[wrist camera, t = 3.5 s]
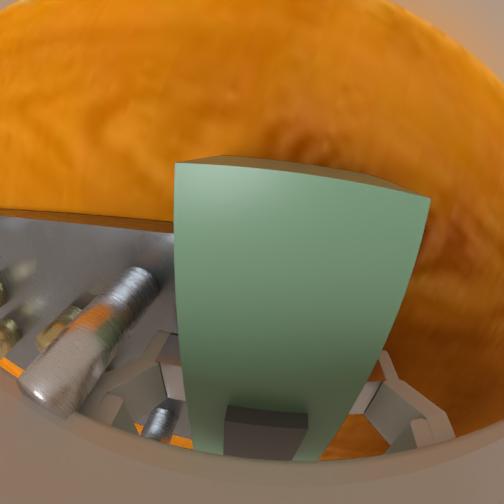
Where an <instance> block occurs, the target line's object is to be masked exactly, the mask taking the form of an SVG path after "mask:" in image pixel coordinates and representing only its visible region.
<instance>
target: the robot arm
mask: <svg viewBox="0 0 504 504" xmlns="http://www.w3.org/2000/svg"><path fill="white" fill-rule="evenodd" d="M17 379H18V378H16V377H15V376H13V375H12V374H10V373H9V372H8V371H6V370H5V369H3V368H2V367H0V504H504V419H502V420H500V421H498V422H495V423H493V424H491V425H488V426H486V427H483V428H481V429H478V430H476V431H473V432H470V433H468V434H465V435H462V436H459V437H456V436H455V434H454V431H453V429H452V426H451V424H450V421H449V419H448V417H447V414H446V412H445V411H443V410H442V409H441V408H439V407H438V406H437V405H435V404H434V403H433V402H431V401H430V400H429V399H427V398H426V397H425V396H423V395H422V394H421V393H419V392H418V391H417V390H415V389H414V388H413V387H411V386H410V385H409V384H407V383H406V382H405V381H403V380H399V378H398V375H397V373H396V371H395V368H394V366H393V363H392V361H391V359H390V356H389V354H388V352H387V351H386V350H382V351H381V353H380V355H379V358H378V360H377V362H376V364H375V366H374V368H373V370H372V372H371V374H370V376H369V378H368V380H367V382H366V384H365V385H364V387H363V389H362V391H361V393H360V395H359V396H358V398H357V400H356V402H355V403H354V405H353V407H352V409H351V410H350V412H349V414H364V416H365V417H366V418H367V419H368V420H369V421H370V423H371V424H372V425H373V426H374V427H375V428H376V430H377V431H378V432H379V433H380V434H381V435H382V436H383V438H384V439H385V440H386V441H387V442H388V443H389V444H390V445H391V446H390V447H389V448H388V449H387V450H386V451H385V452H384V453H383V455H379V456H371V457H363V458H354V459H342V460H325V461H282V460H264V459H252V458H242V457H234V456H227V455H220V454H214V453H208V452H203V451H197V450H192V449H188V448H183V447H179V446H175V445H171V444H167V443H163V442H159V441H156V440H152V439H149V438H146V437H142V436H140V435H139V433H138V431H137V429H136V427H135V425H134V423H135V422H137V421H138V420H139V419H141V418H142V417H143V416H145V415H146V414H147V413H149V412H150V411H151V410H153V409H154V408H155V407H157V406H158V405H159V404H161V403H162V402H163V401H164V400H166V399H167V397H168V398H173V399H178V400H183V401H186V398H185V391H184V383H183V375H182V366H181V357H180V347H179V336H178V334H177V333H170V332H166V331H161V330H159V331H157V332H156V333H155V335H154V336H153V338H152V340H151V341H150V343H149V345H148V346H147V348H146V350H145V351H144V353H143V355H142V356H141V358H135V359H133V360H131V361H129V362H127V363H125V364H123V365H121V366H119V367H117V368H115V369H113V370H110V371H108V372H106V373H104V374H102V375H101V377H100V378H99V380H98V381H97V383H96V384H95V386H94V387H93V389H92V390H91V392H90V393H89V395H88V396H87V398H86V399H85V401H84V402H83V404H82V406H81V407H80V409H79V410H78V412H77V411H74V412H73V413H71V414H70V415H69V416H68V418H67V419H66V420H64V419H62V418H60V417H58V416H57V415H55V414H53V413H51V412H50V411H48V410H46V409H45V408H43V407H41V406H40V405H38V404H36V403H35V402H33V401H32V400H30V399H29V398H27V397H26V396H24V395H23V394H22V393H21V392H20V390H19V388H18V386H17V383H16V380H17Z"/></svg>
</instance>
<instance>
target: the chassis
mask: <svg viewBox="0 0 504 504" xmlns="http://www.w3.org/2000/svg"><path fill="white" fill-rule="evenodd" d="M159 330H161V331H166V332H170V333H177V334H178V323H177V309H176V292H175V269H174V222H164V221H154V220H144V219H133V218H121V217H110V216H98V215H86V214H73V213H59V212H44V211H29V210H12V209H0V360H1V359H2V358H3V357H6V358H7V359H8V360H10V361H11V362H13V363H14V364H16V365H17V366H19V367H20V368H22V369H23V370H25V371H24V372H23V373H22V374H21V376H20V377H19V378H18V379H17V380H16V383H17V386H18V388H19V390H20V392H21V393H22V394H23V395H24V396H26V397H27V398H29V399H30V400H32V401H33V402H35V403H36V404H38V405H40V406H41V407H43V408H45V409H46V410H48V411H50V412H51V413H53V414H55V415H57V416H58V417H60V418H62V419H64V420H66V419H67V418H68V416H69V415H70V414H71V413H73V412H74V411H77V412H78V410H79V409H80V407H81V406H82V404H83V402H84V401H85V399H86V398H87V396H88V395H89V393H90V392H91V390H92V389H93V387H94V386H95V384H96V383H97V381H98V380H99V378H100V377H101V375H102V374H104V373H106V372H108V371H110V370H113V369H115V368H117V367H119V366H121V365H123V364H125V363H127V362H129V361H131V360H133V359H135V358H141V356H142V355H143V353H144V351H145V350H146V348H147V346H148V345H149V343H150V341H151V340H152V338H153V336H154V335H155V333H156V332H157V331H159ZM135 423H136V424H139V425H142V426H144V427H143V430H142V432H141V434H140V436H142V437H146V438H149V439H152V440H156V441H159V442H163V443H167V444H170V441H171V438H172V435H177V436H181V437H185V438H189V439H192V437H191V431H190V425H189V419H188V412H187V405H186V401H183V400H178V399H173V398H168V397H167V399H166V400H164V401H163V402H162V403H161V404H159V405H158V406H157V407H155V408H154V409H153V410H151V411H150V412H149V413H147V414H146V415H145V416H143V417H142V418H141V419H139V420H138V421H137V422H135Z"/></svg>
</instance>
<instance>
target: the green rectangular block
mask: <svg viewBox="0 0 504 504" xmlns="http://www.w3.org/2000/svg"><path fill="white" fill-rule="evenodd" d="M430 201H431V198H428V197H426V196H424V195H421V194H419V193H417V192H414V191H412V190H409V189H407V188H404V187H402V186H399V185H396V184H394V183H391V182H388V181H386V180H383V179H380V178H377V177H375V176H372V175H368V174H363V173H358V172H353V171H347V170H342V169H336V168H330V167H324V166H317V165H311V164H303V163H296V162H288V161H280V160H271V159H261V158H251V157H239V156H225V155H221V156H214V157H207V158H201V159H195V160H189V161H183V162H177V163H175V180H174V269H175V292H176V309H177V323H178V336H179V347H180V357H181V366H182V375H183V383H184V391H185V398H186V405H187V412H188V419H189V425H190V431H191V437H192V442H193V448H194V450H197V451H203V452H208V453H214V454H220V455H227V456H234V457H242V458H252V459H264V460H282V461H317V460H318V459H319V458H320V456H321V455H322V454H323V452H324V451H325V449H326V448H327V446H328V445H329V443H330V442H331V441H332V439H333V438H334V436H335V434H336V433H337V431H338V430H339V428H340V427H341V425H342V424H343V422H344V420H345V419H346V417H347V415H348V414H349V412H350V410H351V409H352V407H353V405H354V403H355V402H356V400H357V398H358V396H359V395H360V393H361V391H362V389H363V387H364V385H365V384H366V382H367V380H368V378H369V376H370V374H371V372H372V370H373V368H374V366H375V364H376V362H377V360H378V358H379V355H380V353H381V351H382V349H383V347H384V345H385V342H386V340H387V338H388V335H389V333H390V331H391V328H392V326H393V324H394V321H395V319H396V316H397V314H398V311H399V308H400V306H401V303H402V300H403V298H404V295H405V292H406V289H407V286H408V283H409V280H410V277H411V274H412V271H413V268H414V265H415V261H416V258H417V254H418V251H419V247H420V244H421V240H422V236H423V232H424V228H425V224H426V220H427V215H428V211H429V206H430Z"/></svg>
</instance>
